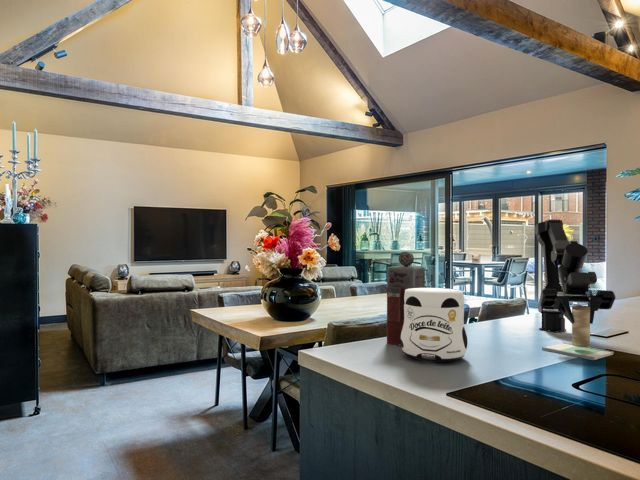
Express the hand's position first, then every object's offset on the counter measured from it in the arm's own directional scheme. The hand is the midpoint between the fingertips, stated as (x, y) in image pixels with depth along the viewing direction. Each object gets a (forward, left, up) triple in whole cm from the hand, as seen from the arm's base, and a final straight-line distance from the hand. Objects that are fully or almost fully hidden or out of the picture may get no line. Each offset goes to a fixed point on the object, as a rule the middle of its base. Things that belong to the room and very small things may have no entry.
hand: (582, 322), depth 127 cm
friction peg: (-1, +1, -7) cm, 7 cm away
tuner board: (-2, +1, -9) cm, 9 cm away
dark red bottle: (-37, -32, -9) cm, 50 cm away
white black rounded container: (-20, -38, -9) cm, 44 cm away
